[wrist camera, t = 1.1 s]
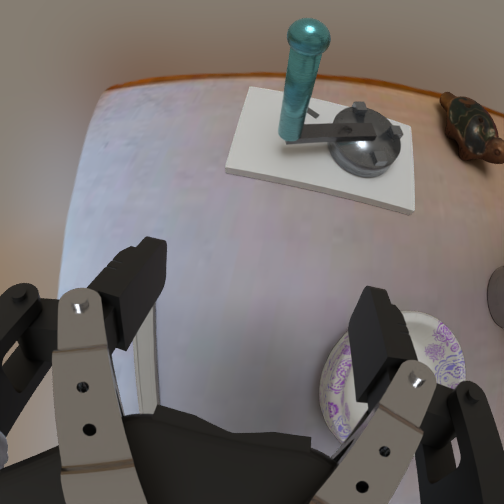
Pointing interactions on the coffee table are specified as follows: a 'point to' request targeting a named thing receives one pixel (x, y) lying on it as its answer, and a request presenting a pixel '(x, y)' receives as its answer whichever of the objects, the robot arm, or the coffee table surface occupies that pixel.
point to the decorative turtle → (472, 129)
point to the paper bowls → (428, 352)
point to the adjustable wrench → (146, 364)
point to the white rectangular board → (313, 156)
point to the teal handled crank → (346, 121)
